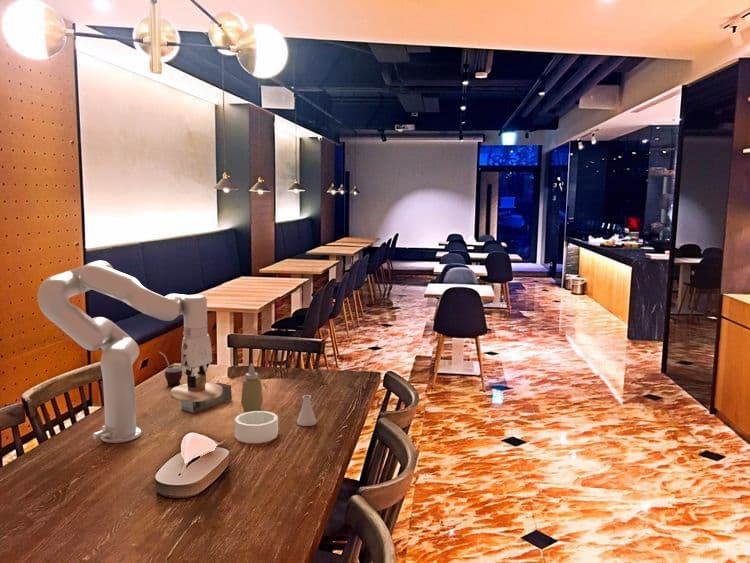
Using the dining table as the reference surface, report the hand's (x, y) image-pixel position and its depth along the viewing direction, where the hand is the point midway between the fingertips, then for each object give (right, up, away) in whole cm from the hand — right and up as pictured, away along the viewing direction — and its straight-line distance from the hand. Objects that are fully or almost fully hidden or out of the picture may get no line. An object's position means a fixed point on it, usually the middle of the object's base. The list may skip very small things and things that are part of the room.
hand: (196, 384), depth 209 cm
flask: (+36, -16, +14) cm, 41 cm away
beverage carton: (-5, -13, +32) cm, 35 cm away
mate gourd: (-26, -10, +55) cm, 61 cm away
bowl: (+20, -17, +2) cm, 26 cm away
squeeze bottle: (+14, -14, +25) cm, 32 cm away
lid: (0, -3, 0) cm, 3 cm away
